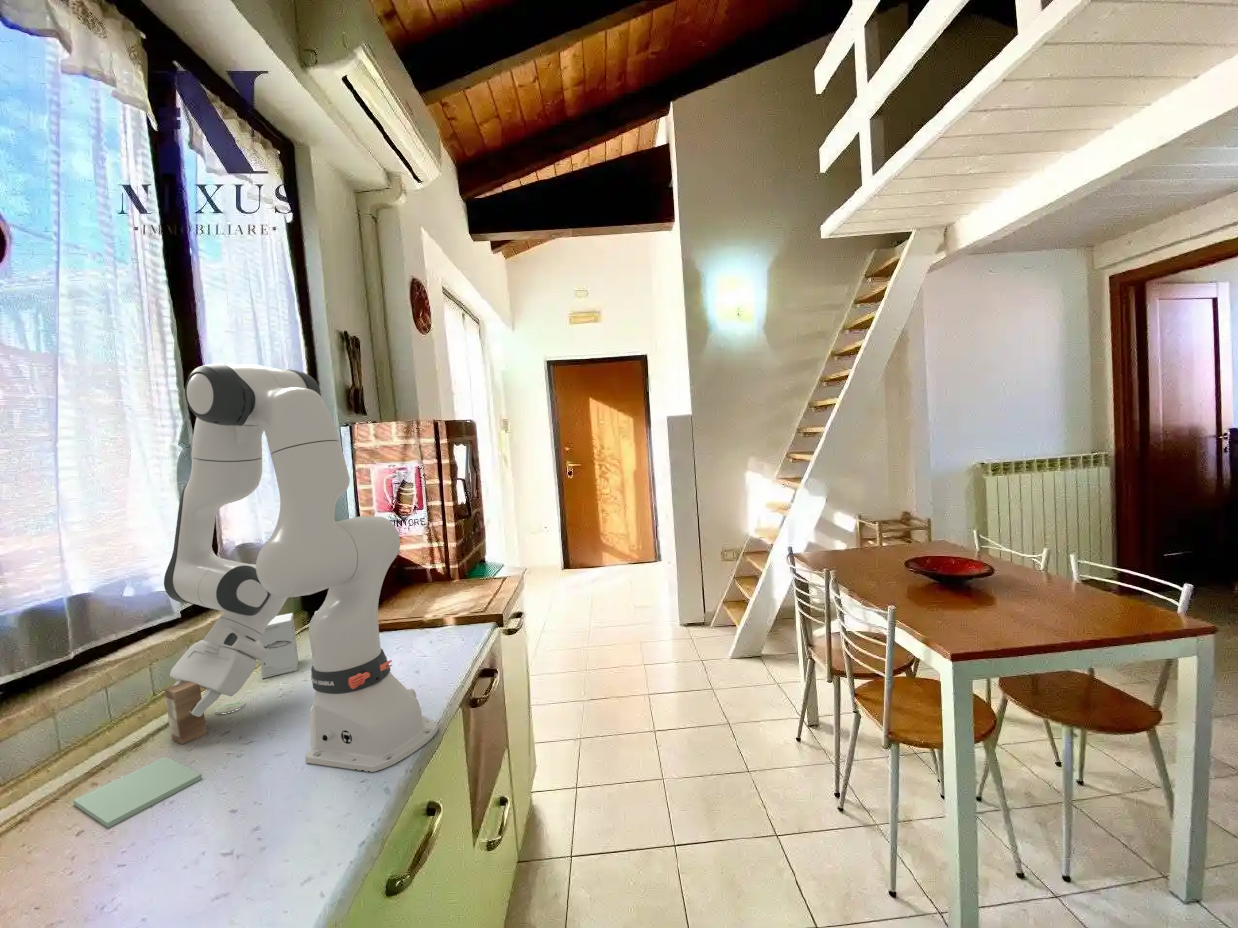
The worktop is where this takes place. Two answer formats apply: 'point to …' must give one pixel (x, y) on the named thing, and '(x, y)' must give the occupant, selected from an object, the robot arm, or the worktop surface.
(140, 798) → the rubber mat
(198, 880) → the worktop surface
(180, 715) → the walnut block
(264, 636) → the supplement box
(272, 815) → the worktop surface
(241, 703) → the sign
